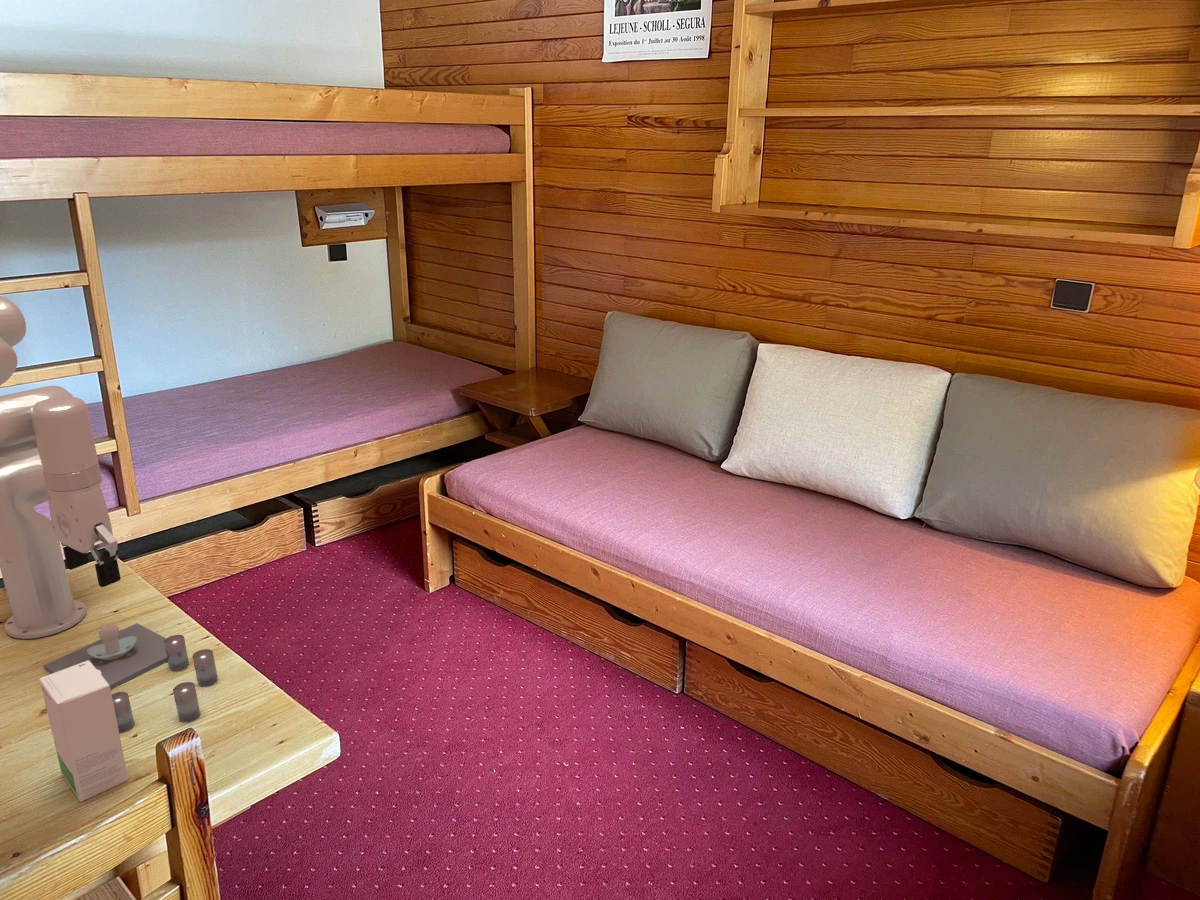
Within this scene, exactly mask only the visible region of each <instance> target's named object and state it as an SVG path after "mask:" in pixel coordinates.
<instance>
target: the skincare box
mask: <svg viewBox="0 0 1200 900" xmlns="http://www.w3.org/2000/svg"><path fill="white" fill-rule="evenodd" d="M38 680H39V683H40V686H41V691H42V696H43V699H44V704H45V708H46V713H47V718H48V721H49V725H50V730H51V733H52V736H53V737H52V739H53V742H54V747H55V751H56V756H57V760H58V763H59V768H60V774H61V775H62V777H63V778H64V780H65V782H66V783H67V784H68V786H69V787H70V789H71V791H73V794H75V796H76V798H77V799H78V802H80V803H82V802H84V801H87V800H88V799H91V798H93V797H95V796H97V795H99V794H102V793H104V792H106V791H108V790H110V789H113V788H115V787H117V786H119V785H121V784H123V783H126V782H127V781H129V775H128V769H127V765H126V761H125V757H124V755H125V754H124V750H123V746H122V745H123V744H122V740H121V736H120V733H119V730H118V725H117V720H116V714H115V709H114V704H113V699H112V694H113V693H112V689H110V685H109V684H108V683H107V681H106V680H105V679H104V678H103V676H102V675H101V671H100V670H97V669H96V668H95V667H94V666H93V664H92V663H91V662H90V661H89V660H88V661H85V662H82V663H80V664H77V665H74V666H72V667H69V668H66V669H64V670H61V671H58V672H55V673H53V674H50V673H49V674H48V675H44V676H42V677H41V678H39V679H38Z"/></svg>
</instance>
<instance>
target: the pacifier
mask: <svg viewBox="0 0 1200 900" xmlns="http://www.w3.org/2000/svg"><path fill="white" fill-rule="evenodd" d="M119 631H120V628H119V626H118V625H116V624H113V623H108V624H105V625H103V626H101V627H100V629H99V630H98V636H99V638H100V640H101V639H102V640H103V641H104V644H100V645H96V646H92V647H90V648H88V649H87V653H88V654H89V655H90V656H91V657H93V658H96V659H103V660H114V659H117V658H120V657H122V656H124V655H125V654H126V653H127V652H128V651H130V650H131V649H132V648H133V647H134V646H135V644H136V641H137V638H136V637H135V636H129V637H126V638H122V639H119V640H118V635H119Z"/></svg>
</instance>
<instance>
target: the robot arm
mask: <svg viewBox="0 0 1200 900" xmlns="http://www.w3.org/2000/svg"><path fill="white" fill-rule="evenodd" d="M26 333H27V323H26V319H25V317H24V314H23V313H22V310H20V308H19V307H18V306H17V304H15V303H14V302H13V301H11V299H8V298H6V297H4V296H0V386H2V385H3V384H5V383H6V382H7V381H8V380H10V378H11V377H12V376H13V374H14V373H15V372H16V370H17V367H18V355H17V353H16V351H15V349H14V348H13V347H15V346H16V345H18V344H19V343H21V342H22V341H23V339H24V337H25V336H26ZM93 433H94V432H93V428H92V423H91V418H90V413H89V409H88V405H87V404H86V402H85V401H84V400H83V399H82V398H80V397H76V396H74V395H73V394H72V393H71V392H69V391H68V390H67V389H66V388H64V387H62V386H59V385H46V386H42V387H38V388H32V389H28V390H21V391H18V392H14V393H9V394H4V395H1V396H0V573H1V576H2V580H3V585H4V588H5V591H6V595H7V598H8V602H9V606H10V609H11V614H12V615H11V616H10V617H9V618H8V619H7V620H6V622H5V623H4V624H5V625H4V628H5V632H6V634H7V635H8V636H10V637H12V638H16V639H20V638H21V639H23V640H25V639H26V640H28V639H29V640H30V639H38V638H43V637H48V636H52V635H54V634H57V633H61V632H63V631H66V630H67V629H69V628H72V627H73V626H75V625H77V623H79V622H80V621H81V620H83V618H84V617H85V615H86V613H87V609H86V605H85V603H83V602H82V601H81V600H78V599H74V598H73V593H72V588H71V585H70V581H69V576H68V572H67V569H68V570H70V571H72V570H75V569H77V568H79V567H82V566H85V565H87V564H89V562H90V561H89V557H88V553H89V552H91V554H92V556H93V559H94V560H95V562H96V563H95V564H94V568H95V572H96V577H97V582H98V586H99V587H100V588H104V587H105V588H106V587H107V586H109V585H112V584H115V583H117V582H119V581H120V580H121V578H122V577H121V574H120V568H119V563H118V558H119V556H118V554H119V550H118V546H119V545H118V544H119V543H118V540H117V539H116V538H115V537H114V534H113V527H112V523H111V519H110V514H109V511H108V507H107V503H106V500H105V497H104V495H103V490H102V488H101V484H102V483H103V479H102V478H103V477H102V472H101V469H100V463H99V458H98V453H97V447H96V444H95V439H94V434H93ZM46 502H48V506H49V514H50V519H49V517H47V516H46V515H44V514H42V513H40V512H38V511H37V510H35V507H37V506H39V505H41V504H44V503H46ZM98 542H101V543H98ZM61 546H62V547H61ZM103 548H104V549H105V550H104V551H103V552H102V554H100V552H99V550H101V549H103ZM62 550H63V551H62ZM63 555H64V556H63ZM64 559H65V560H64Z"/></svg>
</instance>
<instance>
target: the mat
mask: <svg viewBox="0 0 1200 900" xmlns="http://www.w3.org/2000/svg"><path fill="white" fill-rule="evenodd" d="M129 636H135V637H136V638H137V641H136V644H135V646H134V647H133V648H132V649H131V650H130V651H128V652H127V653H126V654H125V655H124V656H122V657H120V658H117V659H114V660H103V659H96V658H93V657H91V656H90V655H89V654H88V653H87V649H88V648H90V647H92V646H96V645H100V644H104V641H103V640H102V639H101V638H100V639H99V640H97V641H95V642H92V643H90V644H87V645H86V646H83V647H81V648H79V649H77V650H75V651H72V652H70V653H68V654H66V655H63V656H60V657H59V658H57V659H54V660H52V661H50V662H48V663H45V664H42V665H43V670H44V671H46V672H47V671H48V672H47V673H49V674H50V673H51V674H53V673H55V672H58V671H61V670H64V669H66V668H69V667H72V666H74V665H77V664H80V663H82V662H85V661H88V660H89V661H90V662H91V663H92V664H93V666H94V667H95V668H96V669H97V670H100V671H101V675H102V676H103V678H104V679H105V680H106V681H107V683H108V684H109V685H110V689H111V690H113V689H114V688H117V687H119V686H121V685H122V684H125V683H127V682H129V681H131V680H133V679H136V678H137V677H139V676H141V675H144V674H145V673H147V672H149V671H151V670H153V669H155V668H158V667H159V666H162V665H163V664H166V663H168V659H167V654H166V649H165V645H164V640H165V639H166V638H167V637H164V636H163V635H161V634H159V633H157V632H155V631H153V630H151V629H149V628H147V627H145V626H143V625H141V624H139V623H137V622H136V623H135V624H132V625H130V626H128V627H126V628H124V629H120V630H119V635H118V640H119V639H122V638H126V637H129Z"/></svg>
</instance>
